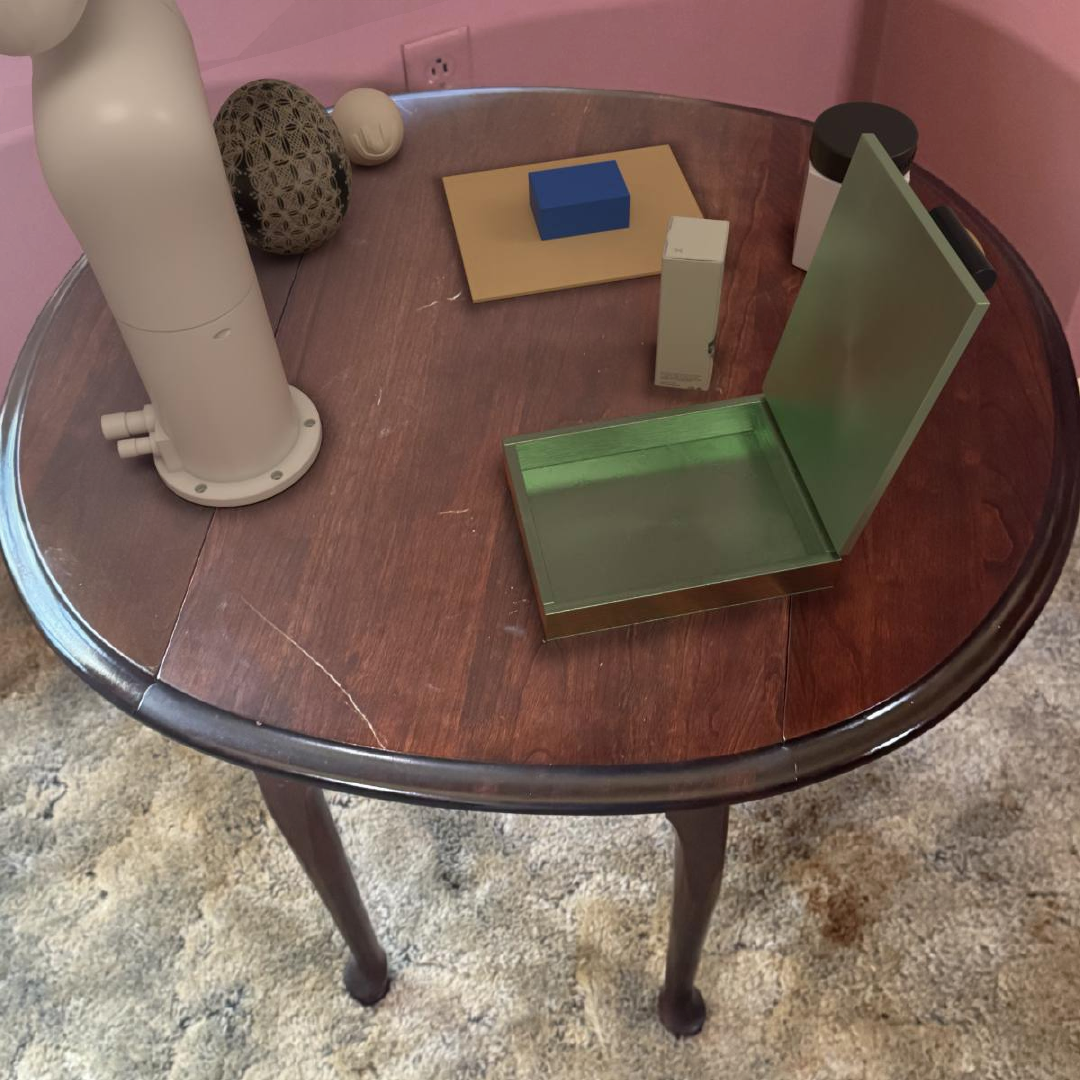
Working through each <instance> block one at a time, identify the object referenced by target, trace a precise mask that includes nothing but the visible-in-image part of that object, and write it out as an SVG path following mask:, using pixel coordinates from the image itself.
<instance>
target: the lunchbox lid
mask: <svg viewBox="0 0 1080 1080" xmlns="http://www.w3.org/2000/svg"><path fill="white" fill-rule="evenodd" d="M965 228H966V227H965V226H964V225H963V223H962V221H961V220H960V219H959V218H958V216H957V215H956V213H955V212H954V210H953V209H952V207H951V206H949V205H947V204H946V205H945V204H941V205H937V206H935V207H933V208H931V209H930V210H929V211H928V210H927V209H926V207H925V206H924V205H923V204H922V202H921V200H920V199H919V197H918V196H917V194H916V193H915V192H914V190H913V189H912V187H911V185H910V183H909V184H908V183H907V181H906V180H905V178H904V177H903V176H902V174H901V173H900V171H899V170H898V168H897V167H896V165H895V164H894V162H893V161H892V160H891V158H890V157H889V155H888V154H887V152H886V151H885V149H884V148H883V146H882V145H881V144H880V142H879V141H878V139H877V138H876V136H875V135H874V134H873V133H862V135H861V137H860V140H859V142H858V145H857V147H856V150H855V153H854V155H853V158H852V160H851V163H850V165H849V168H848V170H847V173H846V175H845V178H844V180H843V183H842V185H841V188H840V190H839V193H838V196H837V198H836V201H835V203H834V206H833V208H832V211H831V213H830V216H829V218H828V221H827V223H826V226H825V228H824V231H823V233H822V236H821V239H820V241H819V244H818V246H817V249H816V251H815V254H814V256H813V259H812V261H811V264H810V266H809V269H808V271H806V274H805V276H804V278H803V282H802V284H801V287H800V289H799V292H798V294H797V297H796V299H795V302H794V304H793V307H792V310H791V312H790V314H789V317H788V320H787V322H786V325H785V327H784V331H783V332H782V335H781V338H780V340H779V341H778V342H779V343H778V345H777V347H776V350H775V353H774V355H773V358H772V360H771V363H770V365H769V368H768V370H767V373H766V375H765V378H764V380H763V383H762V385H761V391H762V393H764V395H765V397H766V400H767V402H768V404H769V406H770V408H771V410H772V413H773V415H774V417H775V419H776V421H777V423H778V426H779V428H780V430H781V432H782V434H783V436H784V439H785V441H786V443H787V445H788V447H789V449H790V452H791V454H792V456H793V458H794V460H795V462H796V465H797V467H798V469H799V471H800V473H801V475H802V478H803V480H804V482H805V484H806V486H807V489H808V491H809V493H810V495H811V497H812V499H813V502H814V504H815V506H816V508H817V510H818V512H819V515H820V517H821V519H822V521H823V523H824V525H825V528H826V530H827V532H828V534H829V536H830V538H831V541H832V543H833V545H834V547H835V549H836V551H837V554H838V555H840V556H848V555H850V554H851V552H852V551H853V548H854V546H855V545H856V543H857V541H858V539H859V538H860V536H861V534H862V532H863V531H864V529H865V527H866V525H867V523H868V522H869V520H870V518H871V516H872V515H873V513H874V512H875V510H876V508H877V506H878V504H879V502H880V500H881V499H882V497H883V496H884V494H885V492H886V490H887V488H888V486H889V484H890V483H891V481H892V479H893V477H894V475H895V474H896V472H897V470H898V469H899V468H900V465H901V463H902V462H903V460H904V458H905V456H906V455H907V453H908V451H909V450H910V447H911V446H912V444H913V442H914V440H915V438H916V436H917V435H918V433H919V432H920V430H921V428H922V426H923V425H924V422H925V421H926V419H927V417H928V416H929V414H930V412H931V410H932V409H933V407H934V405H935V403H936V401H937V400H938V398H939V396H940V394H941V393H942V391H943V389H944V387H945V385H946V384H947V382H948V380H949V378H950V377H951V375H952V373H953V371H954V369H955V368H956V366H957V364H958V362H959V360H960V359H961V357H962V355H963V354H964V352H965V350H966V348H967V347H968V345H969V344H970V343H969V342H970V341H971V340H972V338H973V335H974V334H975V332H976V331H977V328H978V327H979V325H980V323H981V321H982V320H983V319H984V316H985V315H986V313H987V311H988V310H989V308H990V306H991V302H990V300H989V299H988V298H987V296H986V295H985V293H987V292H988V291H989V290H990V289H992V288H993V287H994V285H995V284H996V282H997V281H998V272H997V271H996V269H995V268H994V266H993V265H992V264H991V262H990V260H989V259H988V258H987V257H986V254H985V253H984V254H985V255H984V254H983V253H982V251H981V250H980V248H979V247H978V246H977V244H976V243H975V241H974V240H973V238H972V237H971V236H970V234H969V233H968V231H967V230H966V229H967V228H966V229H965ZM984 292H985V293H984Z"/></svg>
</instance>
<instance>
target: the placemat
mask: <svg viewBox="0 0 1080 1080" xmlns="http://www.w3.org/2000/svg"><path fill="white" fill-rule="evenodd" d="M611 160H616V162H617V165H618V167H619V169H620V172H621V174H622V177H623V179H624V181H625V184H626V186H627V188H628V191H629V193H630V222H629V228H623V229H617V230H610V231H604V232H597V233H591V234H584V235H577V236H571V237H564V238H558V239H551V240H545V241H542V240H541V238H540V234H539V231H538V228H537V225H536V222H535V219H534V216H533V213H532V210H531V207H530V198H529V177H528V173H529V172H536V171H543V170H549V169H556V168H563V167H570V166H577V165H584V164H590V163H597V162H604V161H611ZM441 181H442V184H443V188H444V192H445V197H446V200H447V204H448V208H449V212H450V216H451V220H452V224H453V228H454V232H455V236H456V240H457V245H458V248H459V252H460V257H461V261H462V264H463V269H464V273H465V276H466V277H465V278H466V280H467V284H468V288H469V293H470V297H471V301H472V303H473V304H478V303H485V302H491V301H498V300H505V299H510V298H511V299H512V298H517V297H523V296H530V295H537V294H543V293H548V292H554V291H555V292H556V291H561V290H567V289H575V288H581V287H586V286H587V287H588V286H593V285H601V284H605V283H611V282H619V281H625V280H631V279H638V278H643V277H649V276H656V275H661V266H662V255H663V250H664V244H665V239H666V235H667V230H668V226H669V222H670V219H671V217H672V216H680V217H691V218H701V219H705V217H704V216H703V213H702V211H701V209H700V207H699V205H698V203H697V201H696V199H695V197H694V195H693V192H692V191H691V189H690V187H689V184H688V182H687V180H686V178H685V176H684V174H683V172H682V169H681V167H680V166H679V164H678V162H677V159H676V157H675V155H674V153H673V151H672V148H671V147H670V144H668V143H667V144H661V145H654V146H653V145H652V146H647V147H641V148H634V149H627V150H619V151H613V152H605V153H599V154H593V155H586V156H579V157H572V158H566V159H559V160H551V161H545V162H538V163H530V164H524V165H517V166H510V167H504V168H497V169H489V170H482V171H476V172H470V173H463V174H455V175H450V176H448V175H447V176H443V177H442V178H441Z"/></svg>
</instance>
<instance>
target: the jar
mask: <svg viewBox="0 0 1080 1080" xmlns="http://www.w3.org/2000/svg"><path fill="white" fill-rule="evenodd" d="M862 133H873V134H874V135H875V136H876V138H877V139H878V141H879V142H880V144H881V145H882V146H883V148H884V149H885V151H886V152H887V154H888V155H889V157H890V158H891V160H892V161H893V162H894V164H895V165H896V167H897V168H898V170H899V171H900V173H901V174H902V176H903V177H904V178H905V180H906V181H907V183H908V184H909V185H910V181H911V179H910V177H911V174H910V171H911V167H912V164H913V162H914V161H915V157H916V154H917V150H918V142H919V137H920V136H919V135H920V134H919V130H918V127H917V125H916V123H915V122H914V120H913V119H912V118H910V117H909V116H908V115H907V114H906V113H904V112H902V111H901V110H898V109H896V108H895V107H893V106H889V105H886V104H883V103H882V104H881V103H879V102H872V101H849V102H842V103H839V104H835V105H832V106H830V107H828V108H826V109H825V110H823V111H822V112H821V113H820V114H819V115H818V116H817V117H816V118H815V121H814V123H813V126H812V131H811V138H810V143H809V148H808V154H807V160H806V165H805V170H804V175H803V181H802V188H801V191H800V197H799V203H798V208H797V214H796V215H797V216H796V220H795V225H794V232H793V243H792V254H791V255H792V256H791V265H792V266H794V267H796V268H799V269H800V270H803V271H805V272H807V271H808V269H809V266H810V264H811V261H812V259H813V256H814V254H815V251H816V249H817V246H818V244H819V241H820V239H821V236H822V233H823V231H824V228H825V226H826V223H827V221H828V218H829V216H830V213H831V211H832V208H833V206H834V203H835V201H836V198H837V196H838V193H839V190H840V188H841V185H842V183H843V180H844V178H845V175H846V173H847V170H848V168H849V165H850V163H851V160H852V158H853V155H854V153H855V150H856V147H857V145H858V142H859V140H860V137H861V135H862Z"/></svg>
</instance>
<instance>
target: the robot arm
mask: <svg viewBox="0 0 1080 1080" xmlns="http://www.w3.org/2000/svg"><path fill="white" fill-rule="evenodd" d="M196 51H197V50H196V46H195V43H194V40H193V35H192V33H191V30H190V27H189V25H188V23H187V21H186V19H185V16H184V14H183V12H182V10H181V9H180V7H179V6H178V3H177V1H176V0H0V55H3V56H8V57H30V59H31V69H32V71H31V72H32V75H31V107H32V108H31V109H32V125H33V133H34V134H33V135H34V142H35V146H36V147H35V148H36V153H37V157H38V161H39V165H40V168H41V169H40V170H41V172H42V175H43V178H44V180H45V183H46V185H47V188H48V190H49V193H50V194H51V196H52V199H53V200H54V203H55V204H56V206H57V208H58V210H59V212H60V213H61V215H62V216H63V218H64V220H65V222H66V223H67V225H68V226H69V228H70V229H71V231H72V233H73V234H74V236H75V239H76V240H77V242H78V244H79V245H80V247H81V249H82V251H83V254H84V255H85V257H86V259H87V262H88V263H89V266H90V267H91V270H92V272H93V274H94V276H95V278H96V281H97V283H98V285H99V287H100V289H101V292H102V295H103V296H104V299H105V301H106V303H107V305H108V308H109V310H110V312H111V313H112V315H113V318H114V321H115V323H116V324H117V326H118V329H119V332H120V334H121V336H122V339H123V340H124V343H125V345H126V348H127V350H128V352H129V354H130V357H131V359H132V362H133V364H134V366H135V368H136V370H137V372H138V375H139V377H140V380H141V382H142V384H143V387H144V388H145V391H146V393H147V396H148V398H149V400H150V402H151V403H146V404H144V405H143V408H142V410H135V411H119V412H114V413H107V414H102V415H100V426H101V431H102V434H103V437H104V438H105V440H106V441H115V440H117V444H116V445H117V452H118V455H119V458H120V459H122V460H124V459H130V458H136V457H140V456H141V455H148V454H152V456H153V457H152V458H153V462H154V465H155V468H156V471H157V473H158V475H159V477H160V479H161V480H162V481H163V483H164V484H165V486H166V487H167V488H168V489H169V490H171V491H172V492H173V493H174V494H175V495H177V496H178V497H180V498H182V499H183V500H186V501H187V502H191V503H194V504H197V505H200V506H207V507H214V508H233V507H235V508H236V507H241V506H247V505H252V504H255V503H257V502H261V501H264V500H268V499H269V498H271V497H274V496H276V495H278V494H280V493H282V492H284V491H285V490H286V489H287V488H290V487H291V486H292V485H293V484H295V483H296V482H297V481H299V480H300V479H301V478H302V477H303V476H304V475H305V474H306V473H307V472H308V471H309V469H310V468H311V467H312V465H313V464H314V463H315V461H316V459H317V457H318V454H319V452H320V450H321V446H322V441H323V426H322V422H321V419H320V415H319V412H318V410H317V408H316V405H315V403H314V402H313V401H312V400H311V398H309V396H308V395H306V393H304V392H302V390H300V389H299V388H297V387H295V386H293V385H291V384H289V382H288V379H287V375H286V372H285V369H284V365H283V362H282V359H281V354H280V352H279V349H278V344H277V342H276V339H275V335H274V331H273V327H272V324H271V322H270V318H269V315H268V311H267V307H266V304H265V301H264V297H263V294H262V291H261V287H260V284H259V280H258V277H257V273H256V270H255V266H254V263H253V261H252V258H251V254H250V251H249V247H248V243H247V241H246V240H245V237H244V233H243V230H242V227H241V223H240V220H239V217H238V214H237V210H236V207H235V204H234V201H233V197H232V194H231V191H230V187H229V184H228V181H227V178H226V174H225V170H224V166H223V161H222V157H221V154H220V150H219V146H218V142H217V138H216V134H215V131H214V127H213V123H214V122H213V118H212V116H211V111H210V107H209V101H208V98H207V93H206V87H205V83H204V80H203V78H202V74H201V69H200V64H199V59H198V55H197V52H196ZM147 433H148V435H149V436H144V437H133V436H136V435H140V434H141V435H142V434H147ZM132 437H133V438H132ZM125 438H126V439H125ZM120 439H121V440H120Z"/></svg>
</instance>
